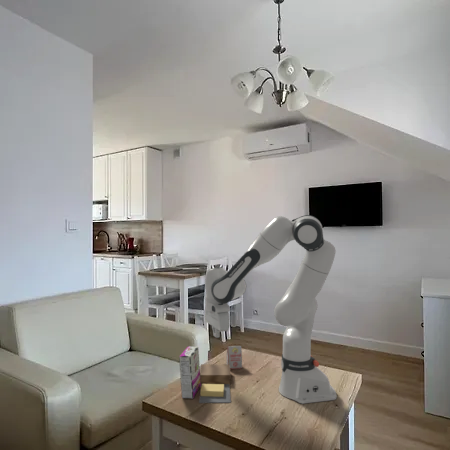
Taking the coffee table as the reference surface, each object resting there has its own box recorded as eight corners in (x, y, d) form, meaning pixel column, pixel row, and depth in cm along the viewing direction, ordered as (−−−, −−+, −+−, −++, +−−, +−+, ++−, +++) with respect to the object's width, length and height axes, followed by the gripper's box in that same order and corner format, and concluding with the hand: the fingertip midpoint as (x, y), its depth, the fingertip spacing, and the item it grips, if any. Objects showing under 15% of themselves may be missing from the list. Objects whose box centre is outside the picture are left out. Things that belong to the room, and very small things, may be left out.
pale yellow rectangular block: (223, 391, 127) (223, 396, 127) (224, 384, 133) (223, 389, 133) (200, 390, 127) (200, 396, 127) (202, 383, 133) (202, 388, 133)
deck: (229, 373, 148) (229, 364, 148) (230, 384, 137) (230, 375, 137) (201, 373, 148) (201, 364, 148) (199, 384, 137) (199, 375, 137)
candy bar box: (189, 385, 136) (187, 345, 137) (201, 385, 135) (199, 346, 136) (180, 398, 125) (178, 355, 126) (193, 399, 124) (190, 356, 125)
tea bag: (226, 366, 156) (226, 345, 156) (240, 365, 157) (240, 344, 157) (227, 369, 153) (227, 348, 153) (241, 368, 154) (242, 347, 154)
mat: (229, 384, 137) (229, 384, 137) (230, 402, 123) (230, 402, 123) (200, 385, 137) (200, 384, 137) (199, 403, 122) (199, 402, 122)
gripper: (201, 301, 150) (201, 331, 149) (217, 309, 131) (218, 344, 131) (213, 300, 152) (214, 329, 152) (231, 308, 134) (232, 342, 133)
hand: (216, 336), depth 141 cm, fingers closed
